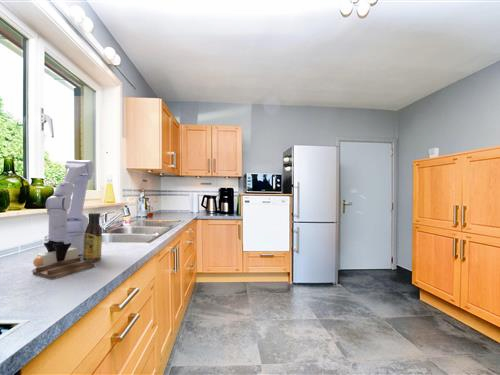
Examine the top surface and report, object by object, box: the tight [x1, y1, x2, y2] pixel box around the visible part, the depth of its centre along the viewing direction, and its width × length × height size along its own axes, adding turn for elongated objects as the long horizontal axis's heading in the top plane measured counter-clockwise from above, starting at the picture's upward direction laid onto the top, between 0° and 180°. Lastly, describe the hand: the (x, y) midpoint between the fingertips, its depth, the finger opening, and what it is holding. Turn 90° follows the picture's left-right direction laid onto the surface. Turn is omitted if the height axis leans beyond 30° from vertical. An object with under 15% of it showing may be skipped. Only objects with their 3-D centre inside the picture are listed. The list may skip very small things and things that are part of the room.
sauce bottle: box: [82, 212, 103, 263], centre depth 99 cm, size 6×6×20 cm
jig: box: [32, 256, 96, 280], centre depth 87 cm, size 14×12×2 cm
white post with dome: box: [32, 248, 79, 268], centre depth 94 cm, size 14×4×5 cm, turn 155°
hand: (57, 260), depth 94 cm, fingers closed on white post with dome, 4 cm apart
